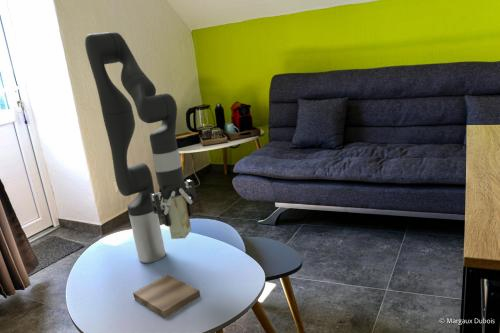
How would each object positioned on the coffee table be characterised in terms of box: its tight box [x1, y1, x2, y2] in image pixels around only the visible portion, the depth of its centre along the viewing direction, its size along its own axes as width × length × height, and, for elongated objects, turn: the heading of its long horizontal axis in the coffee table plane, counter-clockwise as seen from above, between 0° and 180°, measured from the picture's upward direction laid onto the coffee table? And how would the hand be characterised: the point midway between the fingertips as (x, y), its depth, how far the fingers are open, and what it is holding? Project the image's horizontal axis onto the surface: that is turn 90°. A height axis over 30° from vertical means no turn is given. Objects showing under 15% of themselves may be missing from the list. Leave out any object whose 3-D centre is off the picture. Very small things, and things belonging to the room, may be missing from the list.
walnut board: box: [132, 274, 201, 319], centre depth 123 cm, size 16×12×2 cm
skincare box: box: [164, 195, 192, 240], centre depth 125 cm, size 6×4×12 cm
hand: (178, 220), depth 125 cm, fingers closed on skincare box, 7 cm apart
